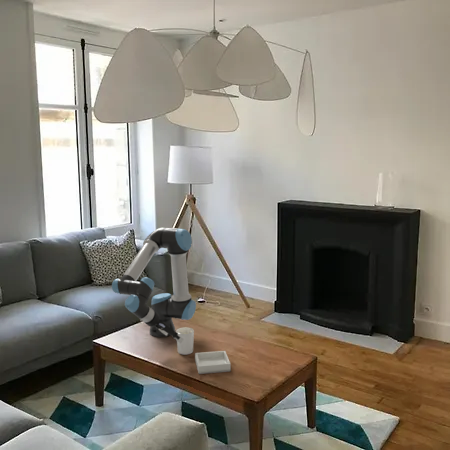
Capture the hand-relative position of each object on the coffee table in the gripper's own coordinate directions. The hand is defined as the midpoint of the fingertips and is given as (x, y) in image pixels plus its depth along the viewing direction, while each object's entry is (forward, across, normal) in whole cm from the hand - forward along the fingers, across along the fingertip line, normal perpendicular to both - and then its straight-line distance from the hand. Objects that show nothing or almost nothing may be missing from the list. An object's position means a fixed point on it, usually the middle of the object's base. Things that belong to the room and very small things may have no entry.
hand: (174, 337), depth 276 cm
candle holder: (+12, -1, -2) cm, 13 cm away
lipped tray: (+13, +23, -2) cm, 26 cm away
